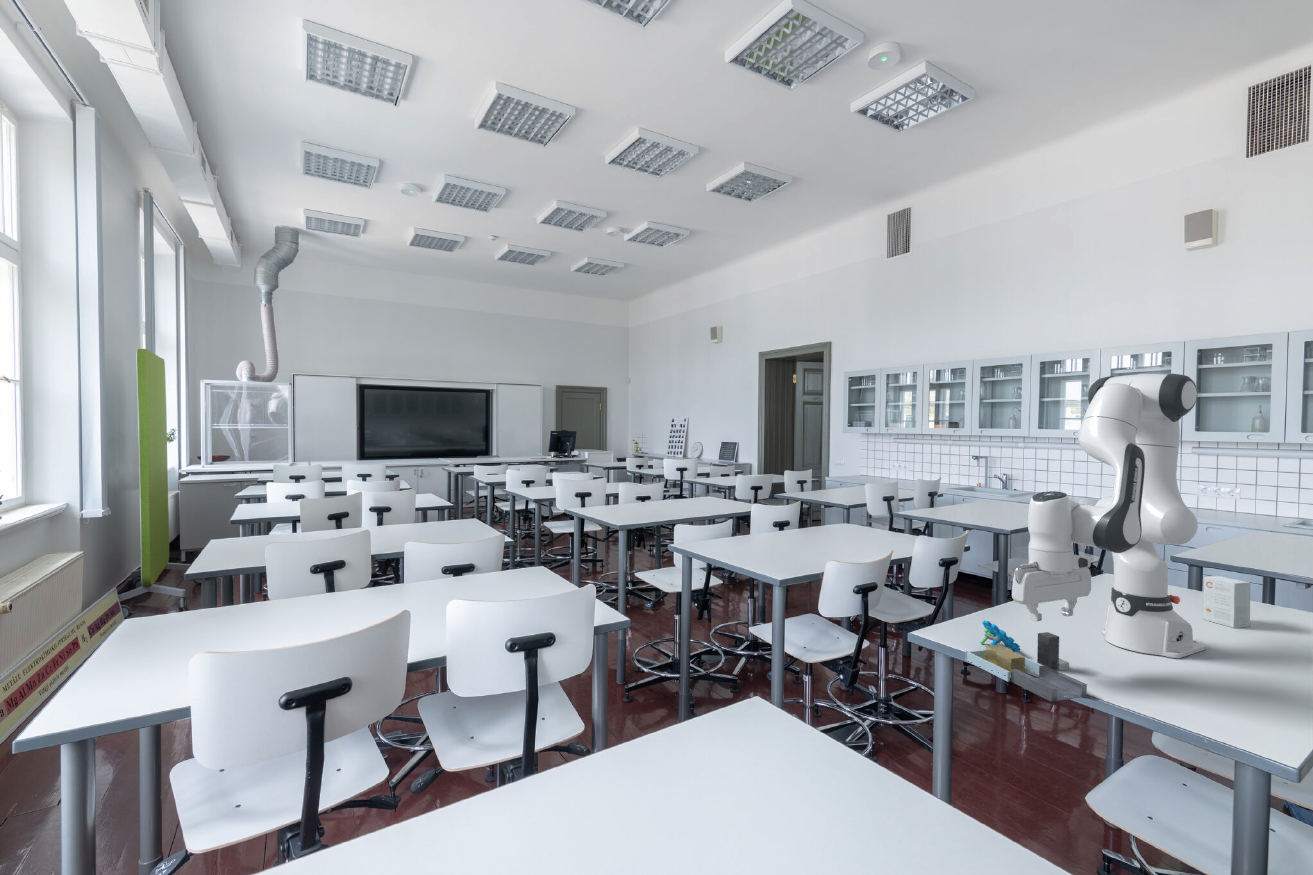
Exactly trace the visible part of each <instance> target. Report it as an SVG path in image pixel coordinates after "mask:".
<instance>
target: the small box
mask: <svg viewBox="0 0 1313 875" xmlns="http://www.w3.org/2000/svg"><path fill="white" fill-rule="evenodd" d="M1202 598H1203V599H1202V600H1203V602H1202V604H1203V606H1202V610H1203V611H1202V619H1203V620H1204V621H1208V622H1212V623H1216V624H1218V625H1221V626H1225V627H1229V628H1231V629H1237V628H1238V629H1239V628H1248V627H1250V626H1251V582H1249V581H1245V580H1241V579H1235V578H1230V577H1225V576H1221V575H1213V576H1212V575H1211V576H1209V575H1208V576H1204V577H1203V597H1202Z"/></svg>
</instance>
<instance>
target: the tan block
mask: <svg viewBox="0 0 1313 875" xmlns="http://www.w3.org/2000/svg"><path fill="white" fill-rule="evenodd" d="M985 649H986V653H985V659H984V660H986V661H989V662H991V663H993V664H995V665H997V652H1003V651H1012V652H1014V650H1012V649H1011V648H1010V647H1007V646H1005V645H1001V644H1000V643H997V644H996V645H990V644H988V645H985Z"/></svg>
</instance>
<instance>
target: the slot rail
mask: <svg viewBox="0 0 1313 875" xmlns="http://www.w3.org/2000/svg"><path fill="white" fill-rule="evenodd" d="M1010 682H1011V683H1013V684H1015V685H1017V686H1020V687H1022V688H1023V689H1026V690H1027V691H1029V692H1031V693H1033V694H1035V695H1037V696H1038V697H1041V698H1043V699H1045V700H1047V701H1049V702H1052V703H1053V702H1059V701H1065V700H1072V699H1080V698H1086V697H1087V693H1088V692H1087V691H1088V690H1087V689H1088V684H1087V683H1086V682H1083V681H1080V680H1078V679H1076V678H1073V677H1072V676H1069V675H1067V674H1064V673H1062V672H1061V671H1058V670H1056V669H1051V668H1049V667H1047V666H1045V665H1044V666H1039V674H1038V677H1034V676H1032V675H1030V674H1028V673H1024V672H1022V671H1020V670H1017V669H1012V670H1011V676H1010ZM1064 696H1067V697H1064ZM1068 697H1069V698H1068Z"/></svg>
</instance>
